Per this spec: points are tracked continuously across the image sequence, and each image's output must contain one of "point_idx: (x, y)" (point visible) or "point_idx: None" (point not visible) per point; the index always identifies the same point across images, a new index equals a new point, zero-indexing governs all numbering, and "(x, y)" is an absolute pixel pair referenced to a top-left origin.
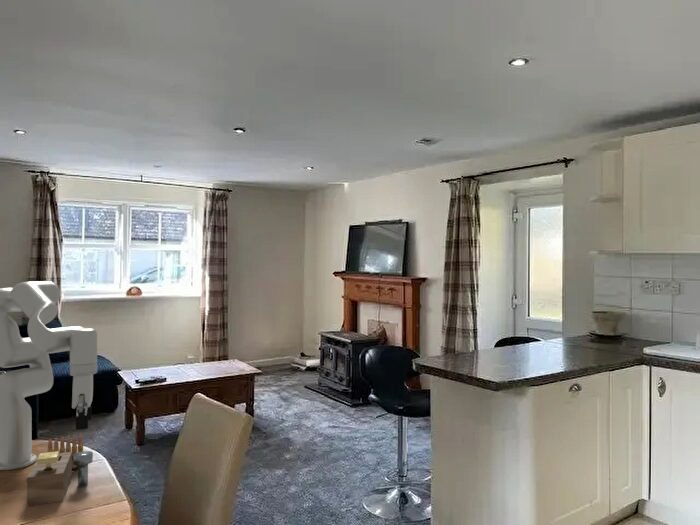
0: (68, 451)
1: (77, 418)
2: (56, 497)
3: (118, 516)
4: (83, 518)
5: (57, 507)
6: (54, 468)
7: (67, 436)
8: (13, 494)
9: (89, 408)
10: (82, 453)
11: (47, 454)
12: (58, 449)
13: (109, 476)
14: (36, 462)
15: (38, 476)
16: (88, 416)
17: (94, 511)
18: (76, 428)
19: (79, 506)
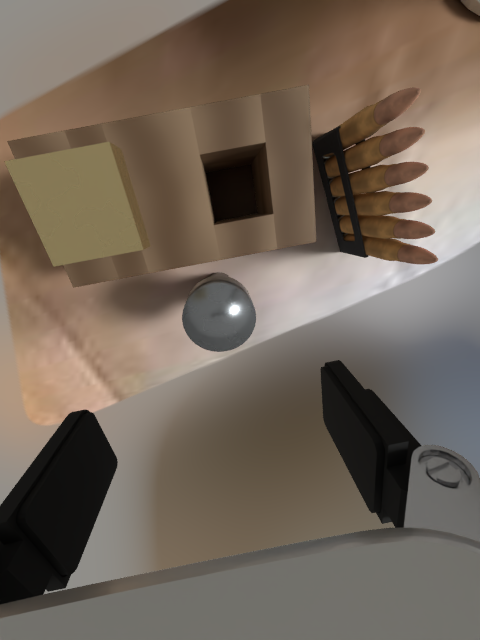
0: (367, 208)
1: (14, 508)
2: None
3: (38, 408)
4: (19, 346)
5: None
6: None
7: (423, 197)
8: (171, 65)
9: (370, 503)
10: (227, 315)
11: (89, 199)
12: (374, 162)
13: (266, 336)
14: (205, 109)
15: None
16: (334, 429)
17: (57, 358)
18: (69, 419)
19: (82, 318)
